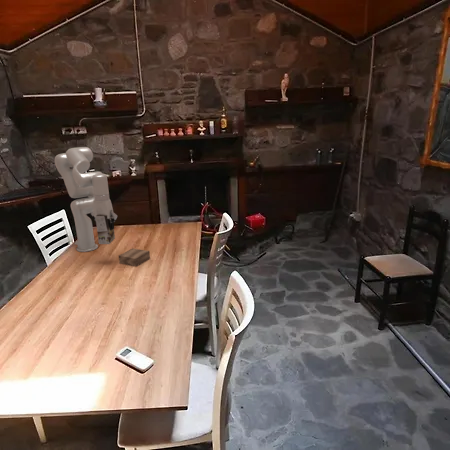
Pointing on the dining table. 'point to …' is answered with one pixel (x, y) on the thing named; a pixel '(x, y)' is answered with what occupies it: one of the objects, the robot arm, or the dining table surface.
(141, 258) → the walnut block
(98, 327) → the dining table surface
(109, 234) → the coffee box
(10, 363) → the dining table surface
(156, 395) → the dining table surface
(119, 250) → the dining table surface
